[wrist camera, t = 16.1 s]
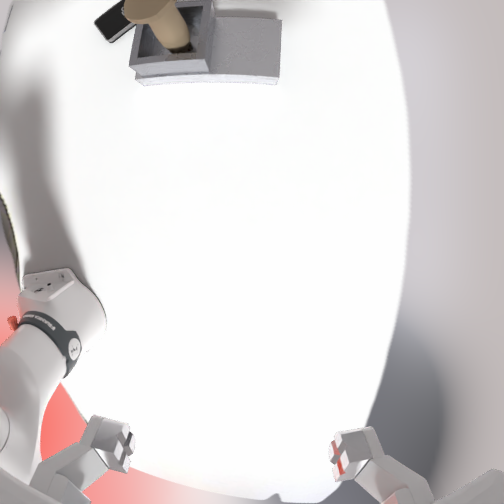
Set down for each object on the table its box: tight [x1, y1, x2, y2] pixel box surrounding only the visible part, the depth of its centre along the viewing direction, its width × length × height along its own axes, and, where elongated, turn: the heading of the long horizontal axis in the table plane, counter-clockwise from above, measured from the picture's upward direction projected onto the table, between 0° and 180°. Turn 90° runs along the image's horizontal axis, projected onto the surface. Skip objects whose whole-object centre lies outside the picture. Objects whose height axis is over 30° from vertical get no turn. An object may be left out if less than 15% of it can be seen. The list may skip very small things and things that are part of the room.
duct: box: [129, 0, 282, 86], centre depth 29 cm, size 20×10×10 cm, turn 87°
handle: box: [124, 0, 192, 54], centre depth 22 cm, size 5×6×15 cm
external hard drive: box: [94, 0, 137, 43], centre depth 29 cm, size 7×11×2 cm, turn 124°
